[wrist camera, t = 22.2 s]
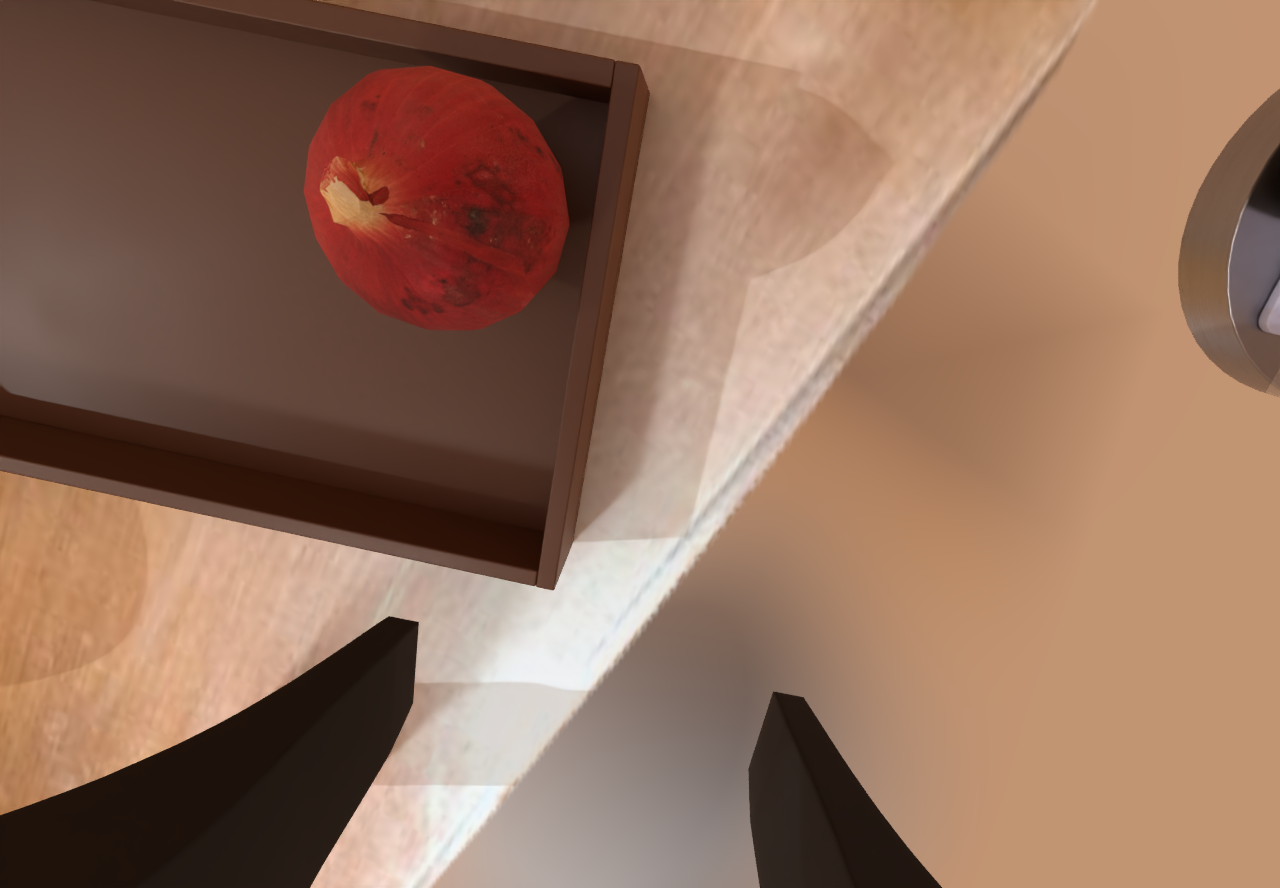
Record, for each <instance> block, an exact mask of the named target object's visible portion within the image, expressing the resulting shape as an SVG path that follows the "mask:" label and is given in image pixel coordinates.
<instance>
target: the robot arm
mask: <svg viewBox="0 0 1280 888" xmlns="http://www.w3.org/2000/svg"><path fill="white" fill-rule="evenodd" d="M1258 321H1259V327H1260V328H1261V329H1262V331H1264V332H1267V333H1271V334H1276V335H1280V279H1279V281H1278V283H1277V285H1276V287H1275V289H1274V290H1273V292H1272V294H1271V296H1270V298H1269V300H1268V302H1267V303H1266V305H1265V307H1264V309H1263V311H1262V313H1261V314H1260V317H1259V320H1258ZM418 625H419V622H415V621H410V620H405V619H400V618H395V617H390V616H389V617H387V618H385V619H384V620H382V621H381V622H379V623H378V624H376V625H375V626H373V627H372V628H370V629H369V630H368V631H366V632H365V633H363V634H362V635H360V636H359V637H357V638H356V639H354V640H353V641H352V642H350V643H349V644H347V645H346V646H344V647H343V648H341V649H340V650H338V651H337V652H336V653H334V654H333V655H331V656H330V657H328V658H327V659H325V660H324V661H322V662H321V663H319V664H317V665H316V666H314V667H313V668H311V669H310V670H308V671H307V672H305V673H304V674H302V675H301V676H299V677H298V678H296V679H295V680H293V681H291V682H290V683H288V684H287V685H285V686H283V687H282V688H280V689H278V690H277V691H275V692H273V693H272V694H270V695H268V696H267V697H265V698H263V699H262V700H260V701H258V702H256V703H255V704H253V705H251V706H250V707H248V708H246V709H245V710H243V711H241V712H239V713H238V714H236V715H234V716H232V717H230V718H228V719H227V720H225V721H223V722H221V723H219V724H217V725H215V726H213V727H211V728H209V729H207V730H205V731H203V732H201V733H199V734H197V735H195V736H193V737H191V738H189V739H187V740H185V741H183V742H181V743H179V744H177V745H175V746H173V747H171V748H168V749H166V750H164V751H162V752H159V753H157V754H155V755H153V756H150V757H148V758H146V759H144V760H141V761H139V762H137V763H134V764H132V765H130V766H128V767H125V768H123V769H121V770H119V771H116V772H114V773H112V774H109V775H107V776H105V777H102V778H100V779H97V780H95V781H92V782H90V783H87V784H85V785H82V786H79V787H77V788H74V789H72V790H69V791H67V792H64V793H61V794H59V795H56V796H53V797H50V798H48V799H45V800H42V801H39V802H37V803H34V804H31V805H29V806H26V807H23V808H20V809H17V810H14V811H11V812H9V813H6V814H3V815H0V888H310V887H311V885H312V883H313V881H314V880H315V878H316V876H317V874H318V872H319V871H320V869H321V867H322V865H323V864H324V862H325V860H326V859H327V857H328V855H329V854H330V852H331V850H332V849H333V847H334V845H335V844H336V842H337V840H338V839H339V837H340V835H341V834H342V832H343V831H344V829H345V827H346V826H347V824H348V822H349V821H350V819H351V817H352V816H353V814H354V812H355V811H356V809H357V807H358V806H359V804H360V802H361V801H362V799H363V798H364V796H365V794H366V793H367V791H368V789H369V788H370V786H371V784H372V783H373V781H374V779H375V777H376V776H377V774H378V772H379V771H380V769H381V767H382V766H383V764H384V762H385V761H386V759H387V757H388V756H389V754H390V752H391V750H392V748H393V746H394V744H395V741H396V739H397V737H398V735H399V733H400V731H401V729H402V726H403V724H404V722H405V720H406V717H407V715H408V713H409V711H410V708H411V706H412V704H413V695H414V681H415V667H416V653H417V639H418ZM749 801H750V823H751V830H752V837H753V844H754V851H755V857H756V864H757V871H758V877H759V884H760V888H942V887H941V886H940V885H939V884H938V882H937V881H936V880H935V879H934V878H933V877H932V875H931V874H930V873H929V872H928V871H927V870H926V869H925V867H924V866H923V865H922V864H921V863H920V862H919V860H918V859H917V858H916V857H915V856H914V855H913V853H912V852H911V851H910V849H909V848H908V847H907V846H906V844H905V843H904V842H903V841H902V839H901V838H900V837H899V836H898V834H897V833H896V832H895V830H894V829H893V828H892V826H891V825H890V824H889V822H888V821H887V820H886V819H885V817H884V816H883V815H882V814H881V812H880V811H879V809H878V808H877V807H876V805H875V804H874V802H873V801H872V800H871V798H870V797H869V796H868V794H867V793H866V791H865V790H864V788H863V787H862V786H861V784H860V783H859V781H858V780H857V778H856V777H855V775H854V774H853V773H852V771H851V770H850V768H849V767H848V765H847V764H846V762H845V761H844V759H843V758H842V756H841V755H840V753H839V752H838V750H837V749H836V747H835V745H834V744H833V742H832V741H831V739H830V738H829V736H828V735H827V733H826V732H825V730H824V728H823V727H822V725H821V724H820V722H819V721H818V719H817V717H816V716H815V714H814V713H813V711H812V710H811V708H810V707H809V705H808V704H807V702H806V701H805V699H804V697H799V696H793V695H788V694H783V693H778V692H773V694H772V697H771V700H770V704H769V707H768V710H767V713H766V716H765V719H764V722H763V725H762V728H761V732H760V735H759V738H758V741H757V744H756V747H755V750H754V753H753V757H752V759H751V763H750V766H749Z"/></svg>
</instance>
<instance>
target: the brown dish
mask: <svg viewBox="0 0 1280 888" xmlns="http://www.w3.org/2000/svg"><path fill="white" fill-rule="evenodd" d="M421 66H433V67H436V68H440V69H444V70H447V71H451V72H454V73H458V74H461V75H465V76H468V77H472V78H475V79H479V80H482V81H484V82H485V83H487V84H489V85H491V86H493V87H494V88H495V89H496V90H498V91H499V92H500V93H501V94H502V95H504V96H505V97H506V98H507V99H509V100H510V101H511V102H512V103H513V104H515V105H516V106H517V107H518V108H519V109H521V110H522V111H523V112H524V113H525V114H527V115H528V116H529V117H530V118H531V119H533V121H534V122H535V124H536V126H537V128H538V129H539V131H540V133H541V134H542V136H543V138H544V140H545V141H546V143H547V145H548V146H549V148H550V150H551V152H552V153H553V155H554V157H555V158H556V160H557V162H558V164H559V165H560V167H561V170H562V174H563V181H564V188H565V195H566V201H567V208H568V215H569V222H570V226H569V229H568V233H567V236H566V240H565V243H564V247H563V250H562V254H561V257H560V261H559V264H558V268H557V271H556V272H555V274H554V275H553V276H552V277H551V278H550V279H549V280H548V282H547V283H546V284H545V285H544V286H543V287H542V288H541V289H540V291H539V292H538V293H537V294H536V295H535V296H534V297H533V298H532V299H531V301H530V302H529V303H528V304H527V305H526V306H525V307H524V308H523V310H522V311H521V312H518V313H516V314H514V315H512V316H509V317H507V318H505V319H503V320H501V321H498V322H496V323H494V324H492V325H490V326H487V327H485V328H483V329H478V330H427V329H424V328H421V327H418V326H415V325H412V324H409V323H406V322H404V321H401V320H398V319H395V318H392V317H389V316H387V315H384V314H381V313H379V312H377V311H376V310H375V309H374V308H373V307H371V306H370V305H369V304H368V303H367V302H365V301H364V300H363V299H362V298H361V297H359V296H358V295H357V294H356V293H355V292H353V291H352V290H351V289H350V288H349V287H347V286H346V285H345V284H344V283H343V282H342V281H341V280H340V279H339V278H338V276H337V274H336V272H335V271H334V269H333V267H332V265H331V264H330V262H329V260H328V258H327V257H326V255H325V253H324V251H323V250H322V248H321V246H320V245H319V243H318V241H317V239H316V238H315V234H314V230H313V226H312V222H311V218H310V215H309V211H308V207H307V203H306V199H305V195H304V184H305V176H306V168H307V160H308V151H309V146H310V144H311V142H312V140H313V138H314V136H315V134H316V132H317V130H318V128H319V126H320V124H321V122H322V120H323V119H324V117H325V115H326V113H327V111H328V109H329V107H330V105H331V104H332V103H333V102H334V101H335V100H337V99H338V98H339V97H340V96H342V95H343V94H344V93H345V92H347V91H348V90H349V89H350V88H351V87H353V86H354V85H355V84H356V83H358V82H359V81H360V80H361V79H363V78H364V77H365V76H366V75H368V74H370V73H372V72H374V71H377V70H381V69H394V68H407V67H421ZM649 94H650V93H649V90H648V86H647V84H646V81H645V78H644V76H643V73H642V70H641V68H640V66H639V65H638V64H633V63H627V62H622V61H616V62H615V60H613V59H607V58H602V57H597V56H592V55H587V54H582V53H577V52H572V51H567V50H562V49H557V48H552V47H547V46H542V45H537V44H531V43H526V42H521V41H516V40H511V39H506V38H501V37H496V36H491V35H486V34H481V33H476V32H471V31H466V30H460V29H455V28H450V27H445V26H440V25H435V24H430V23H425V22H420V21H415V20H410V19H405V18H400V17H395V16H390V15H384V14H379V13H374V12H369V11H364V10H359V9H354V8H349V7H344V6H339V5H334V4H329V3H324V2H319V1H313V0H0V471H4V472H9V473H13V474H18V475H23V476H27V477H32V478H36V479H41V480H46V481H50V482H55V483H60V484H64V485H69V486H73V487H78V488H83V489H87V490H92V491H97V492H101V493H106V494H111V495H115V496H120V497H124V498H129V499H134V500H138V501H143V502H148V503H152V504H157V505H161V506H166V507H171V508H175V509H180V510H185V511H189V512H194V513H198V514H203V515H208V516H212V517H217V518H222V519H226V520H231V521H235V522H240V523H245V524H249V525H254V526H259V527H263V528H268V529H272V530H277V531H282V532H286V533H291V534H296V535H300V536H305V537H309V538H314V539H319V540H323V541H328V542H333V543H337V544H342V545H346V546H351V547H356V548H360V549H365V550H370V551H374V552H379V553H383V554H388V555H393V556H397V557H402V558H407V559H411V560H416V561H420V562H425V563H430V564H434V565H439V566H444V567H448V568H453V569H458V570H462V571H467V572H471V573H476V574H481V575H485V576H490V577H495V578H499V579H504V580H508V581H513V582H518V583H522V584H527V585H532V586H535V585H536V586H537V587H540V588H544V589H549V590H554V589H555V587H556V584H557V581H558V579H559V576H560V574H561V571H562V569H563V566H564V564H565V561H566V559H567V556H568V554H569V551H570V548H571V546H572V543H573V538H574V532H575V526H576V521H577V515H578V509H579V503H580V497H581V491H582V486H583V480H584V474H585V468H586V462H587V456H588V450H589V445H590V439H591V433H592V427H593V421H594V415H595V410H596V404H597V398H598V392H599V386H600V380H601V374H602V369H603V363H604V357H605V351H606V345H607V339H608V334H609V328H610V322H611V316H612V310H613V304H614V299H615V293H616V287H617V281H618V275H619V269H620V263H621V258H622V252H623V246H624V240H625V234H626V228H627V223H628V217H629V211H630V205H631V199H632V193H633V187H634V182H635V176H636V170H637V164H638V158H639V152H640V147H641V141H642V135H643V129H644V123H645V117H646V112H647V106H648V100H649Z"/></svg>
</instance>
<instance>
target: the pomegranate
mask: <svg viewBox="0 0 1280 888" xmlns="http://www.w3.org/2000/svg"><path fill="white" fill-rule="evenodd" d="M304 195H305V199H306V203H307V207H308V211H309V215H310V218H311V222H312V226H313V230H314V234H315V238H316V239H317V241H318V243H319V245H320V246H321V248H322V250H323V251H324V253H325V255H326V257H327V258H328V260H329V262H330V264H331V265H332V267H333V269H334V271H335V272H336V274H337V276H338V278H339V279H340V280H341V281H342V282H343V283H344V284H345V285H346V286H347V287H349V288H350V289H351V290H352V291H353V292H355V293H356V294H357V295H358V296H359V297H361V298H362V299H363V300H364V301H365V302H367V303H368V304H369V305H370V306H371V307H373V308H374V309H375V310H376V311H377V312H379V313H381V314H384V315H387V316H389V317H392V318H395V319H398V320H401V321H404V322H406V323H409V324H412V325H415V326H418V327H421V328H424V329H427V330H478V329H483V328H485V327H487V326H490V325H492V324H494V323H496V322H498V321H501V320H503V319H505V318H507V317H509V316H512V315H514V314H516V313H518V312H521V311H522V310H523V308H524V307H525V306H526V305H527V304H528V303H529V302H530V301H531V299H532V298H533V297H534V296H535V295H536V294H537V293H538V292H539V291H540V289H541V288H542V287H543V286H544V285H545V284H546V283H547V282H548V280H549V279H550V278H551V277H552V276H553V275H554V274H555V272H556V271H557V268H558V264H559V261H560V257H561V254H562V250H563V247H564V243H565V240H566V236H567V233H568V229H569V226H570V222H569V215H568V208H567V201H566V195H565V188H564V181H563V174H562V170H561V167H560V165H559V164H558V162H557V160H556V158H555V157H554V155H553V153H552V152H551V150H550V148H549V146H548V145H547V143H546V141H545V140H544V138H543V136H542V134H541V133H540V131H539V129H538V128H537V126H536V124H535V122H534V121H533V119H531V118H530V117H529V116H528V115H527V114H525V113H524V112H523V111H522V110H521V109H519V108H518V107H517V106H516V105H515V104H513V103H512V102H511V101H510V100H509V99H507V98H506V97H505V96H504V95H502V94H501V93H500V92H499V91H498V90H496V89H495V88H494V87H493V86H491V85H489V84H487V83H485V82H484V81H482V80H479V79H475V78H472V77H468V76H465V75H461V74H458V73H454V72H451V71H447V70H444V69H440V68H436V67H433V66H421V67H407V68H394V69H381V70H377V71H374V72H372V73H370V74H368V75H366V76H365V77H364V78H363V79H361V80H360V81H359V82H358V83H356V84H355V85H354V86H353V87H351V88H350V89H349V90H348V91H347V92H345V93H344V94H343V95H342V96H340V97H339V98H338V99H337V100H335V101H334V102H333V103H332V104H331V105H330V107H329V109H328V111H327V113H326V115H325V117H324V119H323V120H322V122H321V124H320V126H319V128H318V130H317V132H316V134H315V136H314V138H313V140H312V142H311V144H310V146H309V151H308V160H307V168H306V176H305V184H304Z"/></svg>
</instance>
